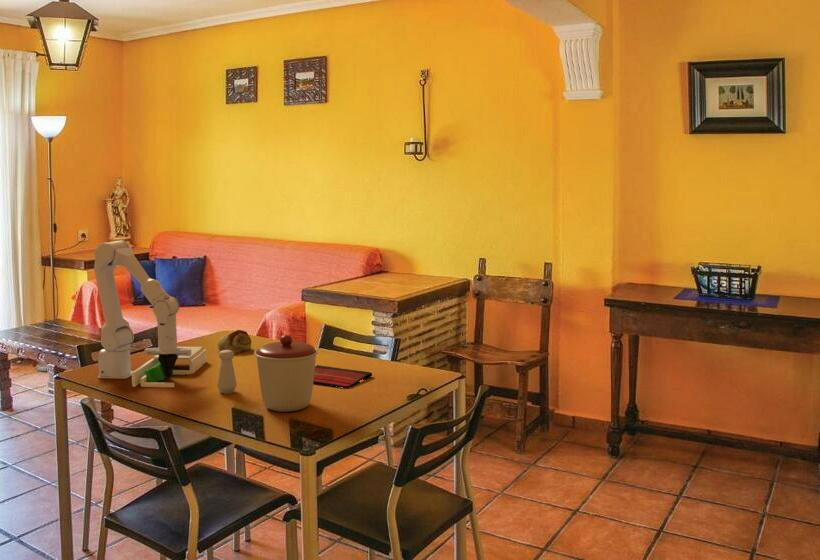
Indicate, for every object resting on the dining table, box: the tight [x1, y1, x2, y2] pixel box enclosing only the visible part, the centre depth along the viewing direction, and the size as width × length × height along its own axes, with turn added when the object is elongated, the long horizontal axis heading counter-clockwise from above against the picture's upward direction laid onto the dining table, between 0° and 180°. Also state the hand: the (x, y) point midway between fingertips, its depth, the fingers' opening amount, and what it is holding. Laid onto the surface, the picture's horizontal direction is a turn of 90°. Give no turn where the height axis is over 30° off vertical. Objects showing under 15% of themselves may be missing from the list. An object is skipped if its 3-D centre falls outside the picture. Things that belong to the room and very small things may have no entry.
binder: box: [313, 364, 373, 389], centre depth 255 cm, size 16×2×21 cm
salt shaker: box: [217, 350, 237, 395], centre depth 238 cm, size 6×6×13 cm
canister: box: [253, 334, 319, 413], centre depth 224 cm, size 18×18×21 cm
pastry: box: [217, 329, 252, 354], centre depth 293 cm, size 14×12×8 cm
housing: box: [131, 349, 207, 388], centre depth 259 cm, size 14×32×4 cm, turn 178°
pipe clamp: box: [145, 363, 166, 382], centre depth 252 cm, size 11×4×5 cm, turn 175°
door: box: [152, 345, 204, 361], centre depth 266 cm, size 12×16×2 cm
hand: (168, 377), depth 252 cm, fingers closed
